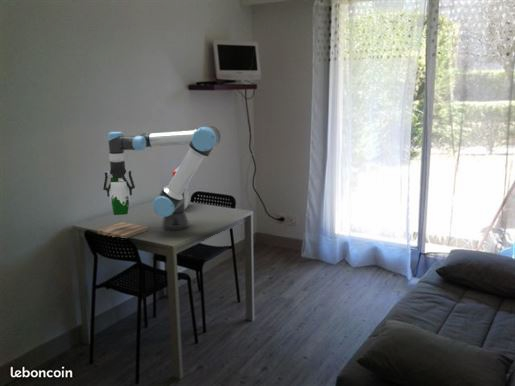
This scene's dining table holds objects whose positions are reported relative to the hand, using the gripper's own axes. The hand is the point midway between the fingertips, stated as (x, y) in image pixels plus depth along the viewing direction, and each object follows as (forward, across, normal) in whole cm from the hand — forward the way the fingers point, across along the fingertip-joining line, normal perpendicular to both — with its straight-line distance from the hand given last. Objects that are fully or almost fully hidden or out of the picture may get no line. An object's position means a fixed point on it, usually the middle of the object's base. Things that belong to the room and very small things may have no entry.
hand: (120, 201), depth 245 cm
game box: (+17, -36, -44) cm, 59 cm away
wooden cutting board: (+17, 0, 0) cm, 17 cm away
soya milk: (+7, 0, 0) cm, 7 cm away
